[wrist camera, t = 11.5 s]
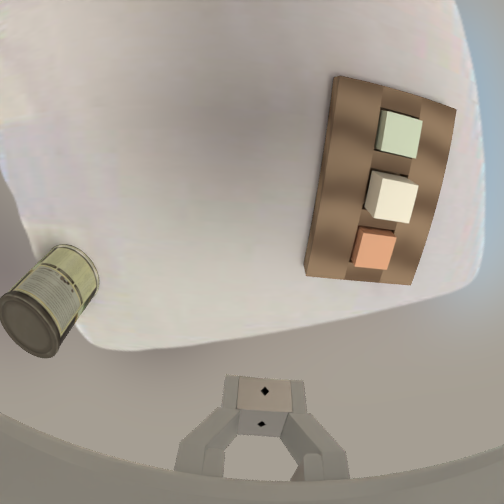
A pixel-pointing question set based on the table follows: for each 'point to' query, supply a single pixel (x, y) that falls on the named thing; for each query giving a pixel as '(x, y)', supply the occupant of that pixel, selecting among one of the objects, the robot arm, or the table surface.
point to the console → (359, 173)
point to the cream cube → (390, 197)
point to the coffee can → (49, 300)
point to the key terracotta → (372, 247)
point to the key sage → (398, 134)
